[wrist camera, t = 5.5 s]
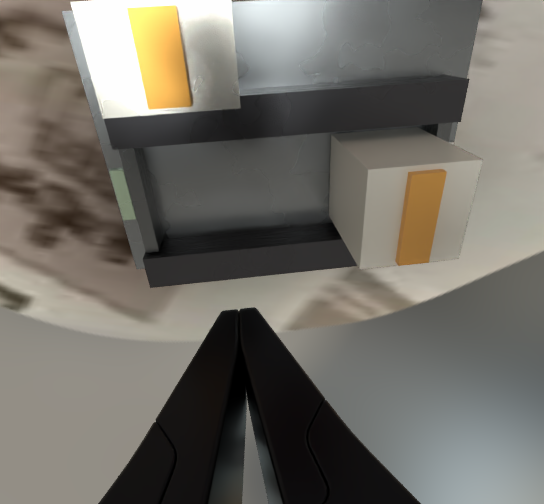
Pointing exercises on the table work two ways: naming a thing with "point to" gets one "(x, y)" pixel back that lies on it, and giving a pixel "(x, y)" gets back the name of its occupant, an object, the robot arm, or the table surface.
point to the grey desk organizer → (255, 117)
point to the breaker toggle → (400, 196)
